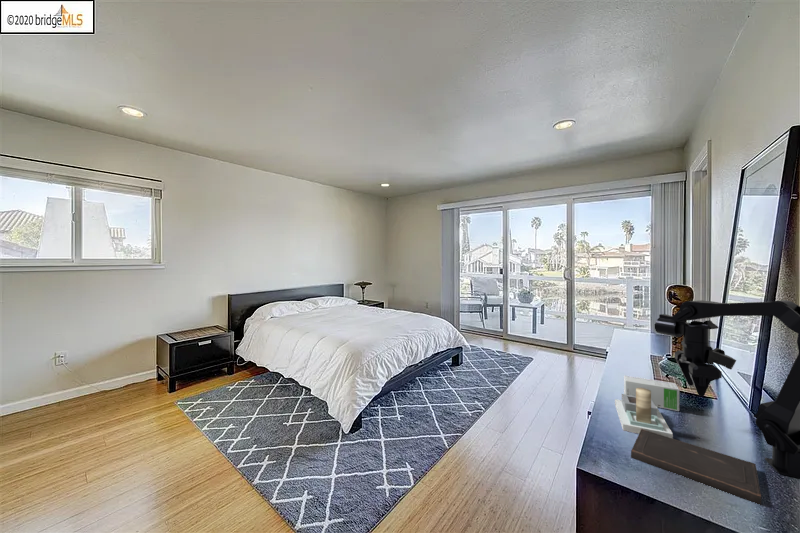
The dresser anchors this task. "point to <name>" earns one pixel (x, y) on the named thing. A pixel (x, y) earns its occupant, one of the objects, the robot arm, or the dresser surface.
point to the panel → (630, 424)
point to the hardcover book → (699, 464)
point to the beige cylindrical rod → (643, 405)
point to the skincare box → (655, 391)
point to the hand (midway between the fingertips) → (695, 390)
